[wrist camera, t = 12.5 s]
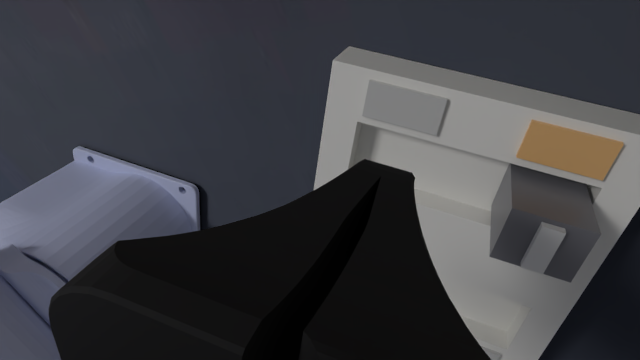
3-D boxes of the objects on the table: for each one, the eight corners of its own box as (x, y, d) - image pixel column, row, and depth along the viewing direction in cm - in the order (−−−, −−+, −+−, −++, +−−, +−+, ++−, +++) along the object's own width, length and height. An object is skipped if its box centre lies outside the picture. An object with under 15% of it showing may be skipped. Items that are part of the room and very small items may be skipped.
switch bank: (311, 276, 28) (295, 305, 26) (349, 46, 20) (331, 61, 18) (518, 351, 26) (519, 390, 24) (660, 119, 17) (682, 147, 15)
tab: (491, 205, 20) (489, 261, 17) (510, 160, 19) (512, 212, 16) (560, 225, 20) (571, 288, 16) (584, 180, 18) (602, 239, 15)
